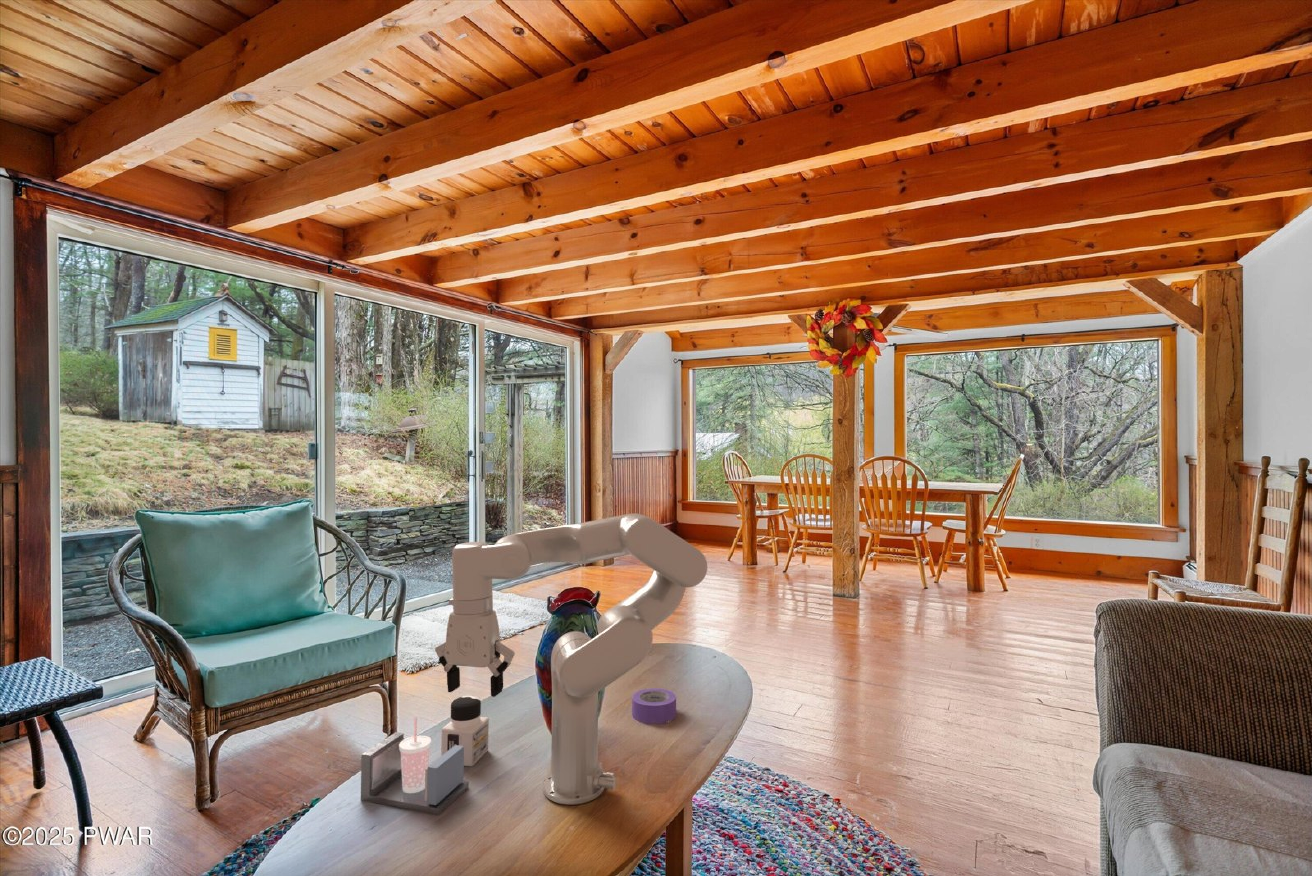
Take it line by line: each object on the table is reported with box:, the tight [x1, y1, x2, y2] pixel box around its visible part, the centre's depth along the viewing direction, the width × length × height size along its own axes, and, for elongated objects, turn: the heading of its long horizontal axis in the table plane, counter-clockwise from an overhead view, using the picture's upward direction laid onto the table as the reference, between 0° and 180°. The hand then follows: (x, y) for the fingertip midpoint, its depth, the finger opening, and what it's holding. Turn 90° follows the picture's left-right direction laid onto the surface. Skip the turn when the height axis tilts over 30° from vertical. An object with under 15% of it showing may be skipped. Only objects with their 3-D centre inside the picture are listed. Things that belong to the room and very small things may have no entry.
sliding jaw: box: [425, 745, 465, 805], centre depth 122 cm, size 2×9×7 cm, turn 164°
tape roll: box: [631, 687, 677, 726], centre depth 162 cm, size 12×12×5 cm
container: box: [440, 695, 490, 767], centre depth 139 cm, size 8×8×13 cm
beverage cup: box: [399, 716, 432, 793], centre depth 124 cm, size 6×6×14 cm
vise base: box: [360, 731, 470, 816], centre depth 124 cm, size 18×10×9 cm, turn 74°
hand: (475, 691), depth 121 cm, fingers open, 9 cm apart
